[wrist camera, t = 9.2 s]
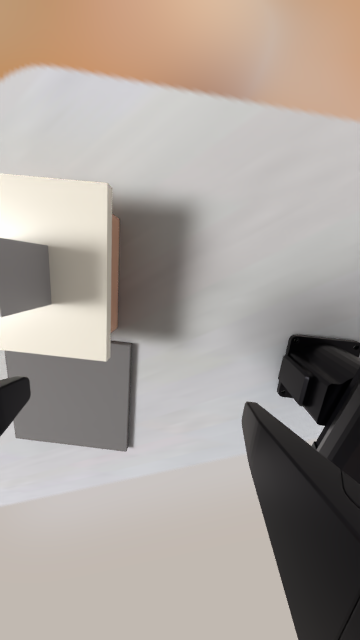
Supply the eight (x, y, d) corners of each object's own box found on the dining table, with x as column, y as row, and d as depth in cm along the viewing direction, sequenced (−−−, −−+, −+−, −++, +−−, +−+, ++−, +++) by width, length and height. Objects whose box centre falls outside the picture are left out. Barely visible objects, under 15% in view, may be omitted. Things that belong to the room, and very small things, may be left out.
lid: (112, 187, 13) (70, 144, 9) (110, 357, 16) (78, 392, 12) (-65, 172, 14) (-198, 122, 9) (-36, 341, 17) (-124, 369, 12)
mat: (131, 343, 21) (130, 345, 20) (127, 447, 24) (126, 451, 23) (7, 329, 21) (2, 331, 20) (19, 433, 24) (15, 438, 24)
